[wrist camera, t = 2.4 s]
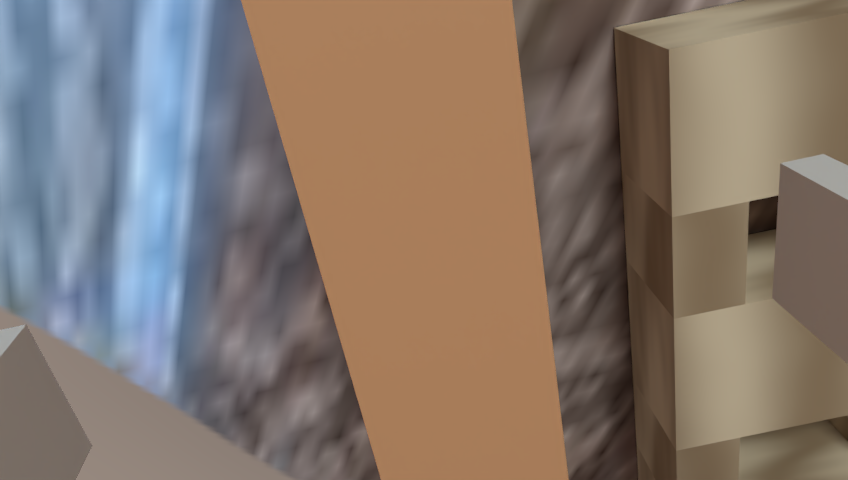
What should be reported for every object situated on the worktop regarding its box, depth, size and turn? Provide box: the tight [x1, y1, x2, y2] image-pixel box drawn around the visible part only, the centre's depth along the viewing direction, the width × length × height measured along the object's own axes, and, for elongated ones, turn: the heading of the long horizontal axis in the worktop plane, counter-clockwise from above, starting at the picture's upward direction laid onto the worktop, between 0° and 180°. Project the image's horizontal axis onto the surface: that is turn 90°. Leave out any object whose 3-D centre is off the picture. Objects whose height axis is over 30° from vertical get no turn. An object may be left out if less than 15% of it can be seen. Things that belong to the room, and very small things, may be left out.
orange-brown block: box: [241, 0, 569, 480], centre depth 17 cm, size 12×4×10 cm, turn 10°
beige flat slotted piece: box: [614, 0, 848, 480], centre depth 23 cm, size 10×22×4 cm, turn 10°
